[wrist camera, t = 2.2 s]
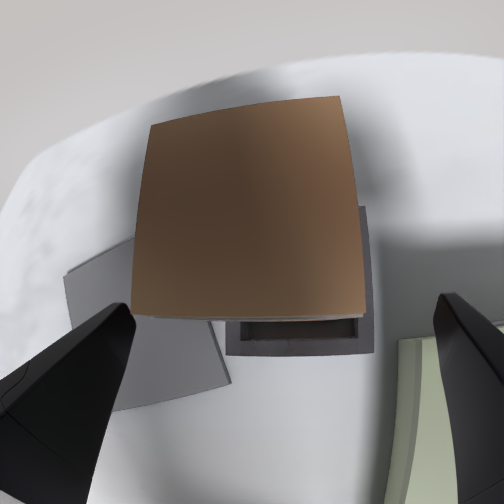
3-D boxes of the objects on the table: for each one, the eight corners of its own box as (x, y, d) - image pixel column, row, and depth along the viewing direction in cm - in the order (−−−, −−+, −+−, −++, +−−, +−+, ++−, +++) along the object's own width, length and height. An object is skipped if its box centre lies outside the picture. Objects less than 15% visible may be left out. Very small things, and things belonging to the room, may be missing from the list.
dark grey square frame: (368, 349, 16) (374, 352, 14) (236, 352, 18) (225, 355, 16) (361, 218, 18) (365, 206, 16) (236, 226, 19) (227, 215, 17)
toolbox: (495, 521, 9) (522, 555, 4) (367, 553, 12) (370, 602, 7) (532, 312, 13) (585, 305, 8) (393, 333, 16) (422, 336, 10)
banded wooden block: (337, 320, 17) (369, 315, 4) (265, 322, 18) (128, 316, 5) (334, 248, 18) (341, 93, 5) (265, 252, 19) (149, 124, 6)
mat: (231, 383, 17) (228, 384, 17) (100, 413, 19) (96, 414, 18) (178, 219, 20) (175, 217, 20) (67, 277, 22) (63, 276, 21)
